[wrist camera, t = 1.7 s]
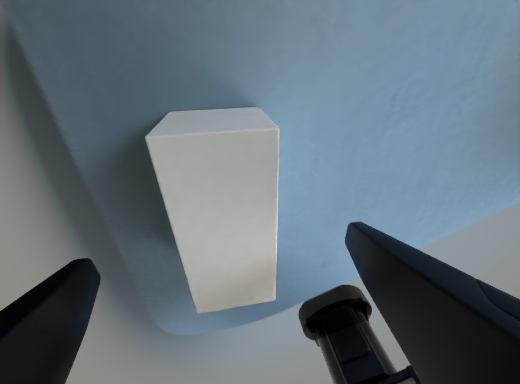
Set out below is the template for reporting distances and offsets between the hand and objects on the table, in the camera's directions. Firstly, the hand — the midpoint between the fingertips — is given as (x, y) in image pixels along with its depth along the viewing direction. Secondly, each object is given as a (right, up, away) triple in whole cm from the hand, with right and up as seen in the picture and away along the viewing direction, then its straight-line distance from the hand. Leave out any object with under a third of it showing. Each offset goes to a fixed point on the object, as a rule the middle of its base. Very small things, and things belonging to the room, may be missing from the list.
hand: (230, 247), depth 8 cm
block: (-1, +2, +3) cm, 4 cm away
